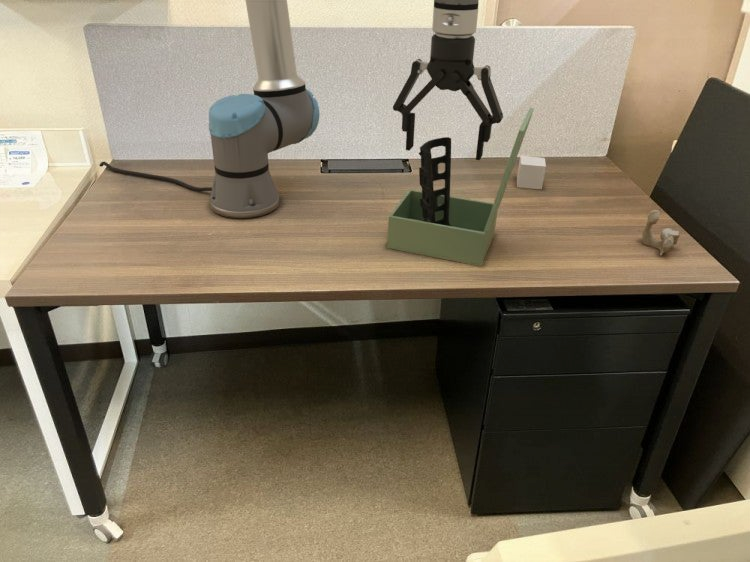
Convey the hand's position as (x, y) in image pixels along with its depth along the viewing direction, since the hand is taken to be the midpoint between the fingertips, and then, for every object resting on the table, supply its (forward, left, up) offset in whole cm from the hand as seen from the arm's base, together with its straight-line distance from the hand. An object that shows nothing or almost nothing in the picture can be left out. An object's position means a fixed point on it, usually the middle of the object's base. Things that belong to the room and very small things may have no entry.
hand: (443, 153), depth 115 cm
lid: (+12, 0, -1) cm, 12 cm away
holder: (0, 0, -19) cm, 19 cm away
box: (+1, 0, -19) cm, 19 cm away
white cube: (+14, +38, -19) cm, 45 cm away
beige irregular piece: (+44, +14, -19) cm, 50 cm away
